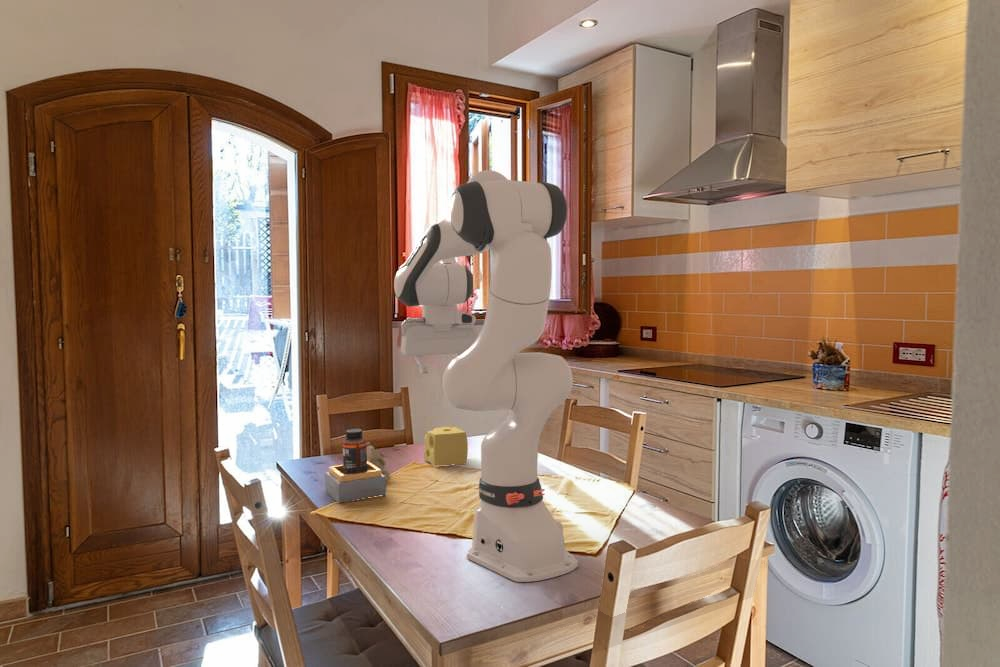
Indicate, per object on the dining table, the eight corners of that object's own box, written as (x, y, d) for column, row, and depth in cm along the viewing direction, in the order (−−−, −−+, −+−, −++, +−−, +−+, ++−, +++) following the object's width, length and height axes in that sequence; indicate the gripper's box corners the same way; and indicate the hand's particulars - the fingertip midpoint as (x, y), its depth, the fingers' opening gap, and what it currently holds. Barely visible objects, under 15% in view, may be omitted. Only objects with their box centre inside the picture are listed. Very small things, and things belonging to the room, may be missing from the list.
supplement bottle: (369, 470, 170) (368, 427, 169) (365, 477, 164) (364, 432, 163) (345, 471, 169) (344, 428, 169) (341, 477, 163) (340, 433, 163)
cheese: (423, 460, 200) (422, 428, 199) (456, 456, 204) (455, 425, 204) (434, 468, 190) (434, 434, 190) (468, 464, 195) (468, 431, 194)
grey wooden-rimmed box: (386, 495, 165) (385, 470, 164) (338, 503, 159) (338, 477, 158) (370, 484, 175) (369, 460, 175) (325, 491, 169) (325, 466, 169)
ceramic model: (396, 480, 179) (395, 444, 178) (356, 486, 173) (356, 449, 172) (377, 468, 191) (377, 435, 190) (340, 474, 185) (339, 439, 184)
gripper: (405, 318, 155) (406, 376, 156) (481, 316, 166) (482, 370, 166) (396, 317, 161) (397, 373, 162) (470, 316, 171) (470, 368, 172)
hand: (440, 372), depth 164 cm, fingers open, 8 cm apart
